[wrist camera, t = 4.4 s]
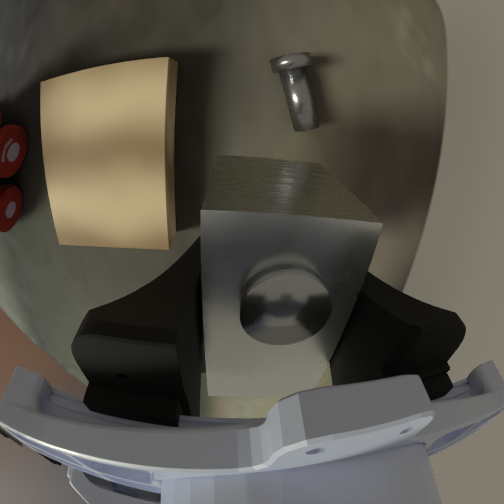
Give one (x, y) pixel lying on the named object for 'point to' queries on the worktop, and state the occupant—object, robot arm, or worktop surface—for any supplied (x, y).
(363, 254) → the block
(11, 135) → the toy fire truck
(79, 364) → the robot arm
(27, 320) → the worktop surface
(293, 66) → the bolt
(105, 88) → the tan wooden block
